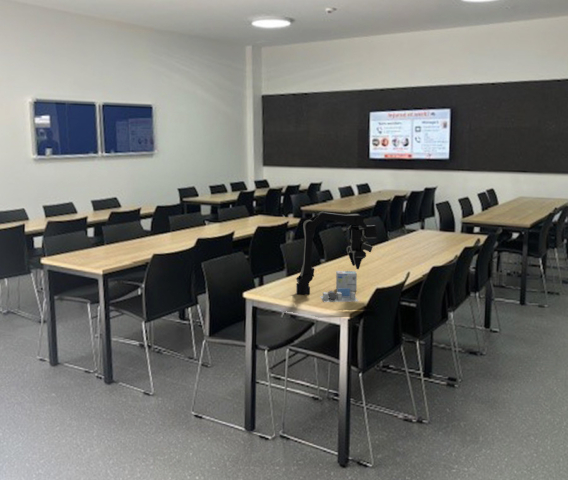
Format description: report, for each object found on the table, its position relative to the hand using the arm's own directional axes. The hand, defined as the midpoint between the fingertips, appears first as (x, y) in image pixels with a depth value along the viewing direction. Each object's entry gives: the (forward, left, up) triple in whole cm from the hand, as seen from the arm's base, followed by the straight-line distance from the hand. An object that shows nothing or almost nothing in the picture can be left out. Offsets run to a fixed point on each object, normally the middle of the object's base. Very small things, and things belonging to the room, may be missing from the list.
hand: (355, 267), depth 316 cm
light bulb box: (-3, +7, -15) cm, 17 cm away
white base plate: (-11, -12, -15) cm, 22 cm away
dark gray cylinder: (-15, -12, -14) cm, 23 cm away
